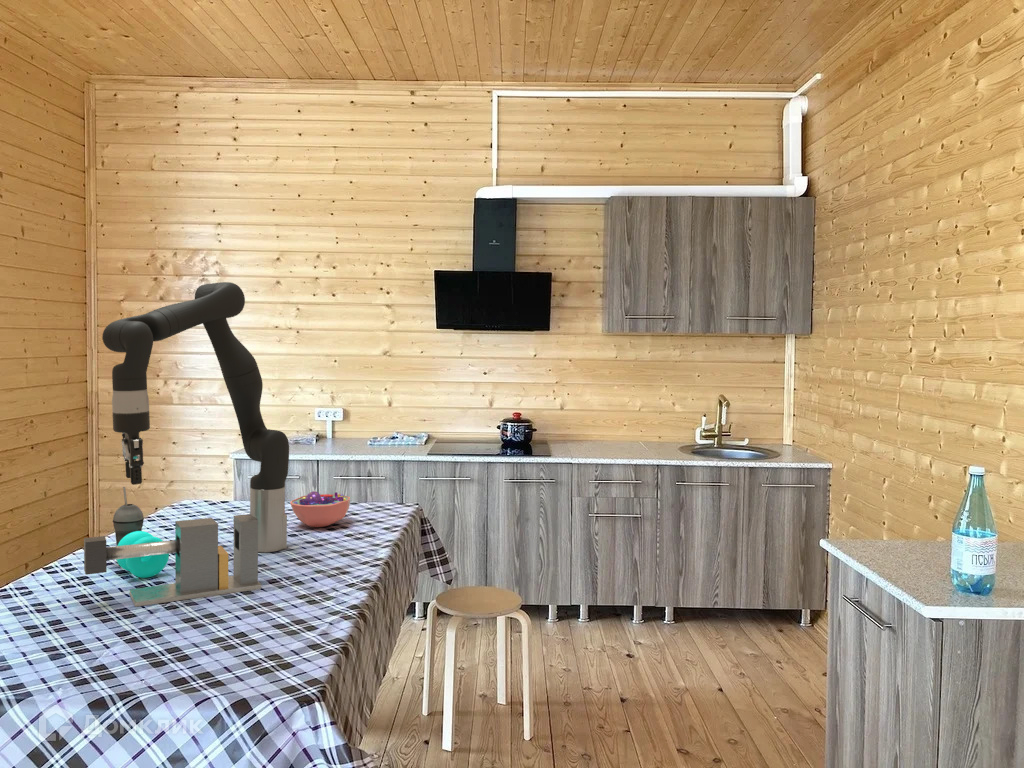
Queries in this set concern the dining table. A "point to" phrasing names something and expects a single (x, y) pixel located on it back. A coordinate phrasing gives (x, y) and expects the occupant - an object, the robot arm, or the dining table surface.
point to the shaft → (120, 552)
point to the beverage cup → (127, 519)
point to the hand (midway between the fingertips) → (133, 480)
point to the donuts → (144, 564)
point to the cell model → (320, 508)
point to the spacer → (222, 568)
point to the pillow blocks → (206, 562)
